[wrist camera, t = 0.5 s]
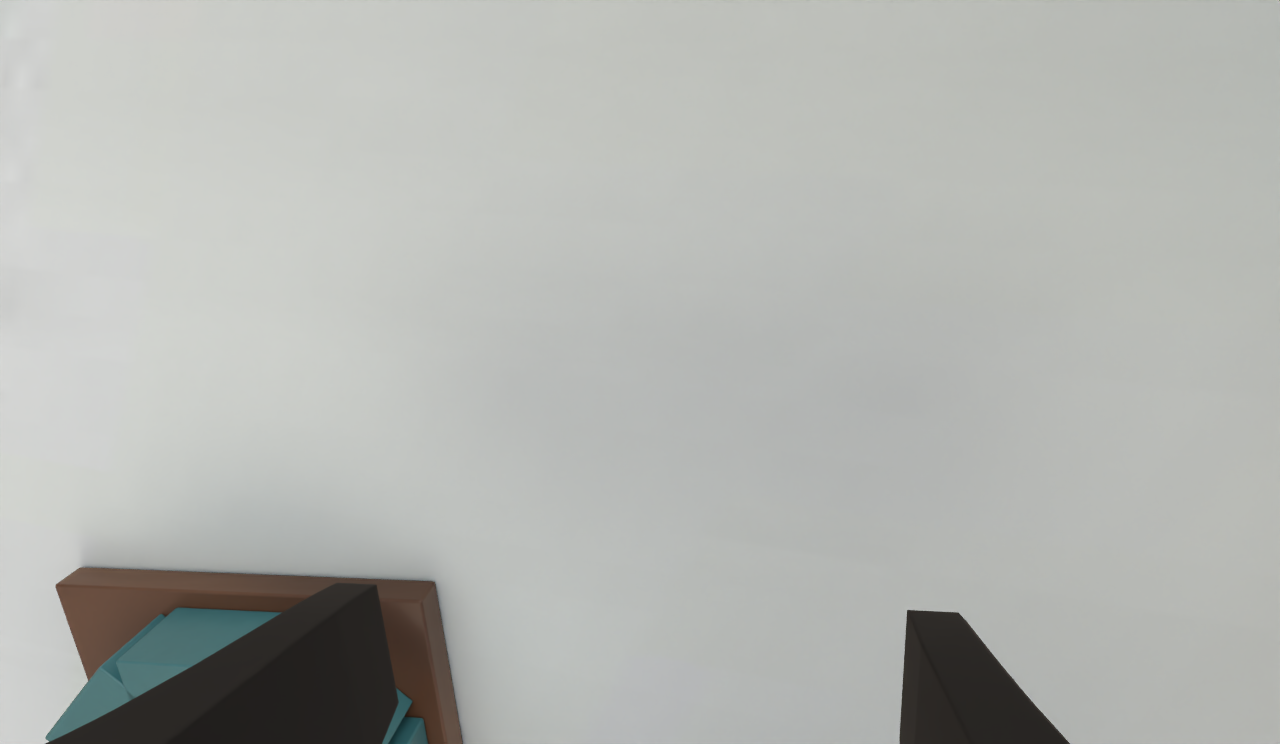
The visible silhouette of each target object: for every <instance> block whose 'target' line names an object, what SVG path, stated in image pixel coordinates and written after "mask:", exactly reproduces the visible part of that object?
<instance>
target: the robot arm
mask: <svg viewBox="0 0 1280 744" xmlns="http://www.w3.org/2000/svg"><path fill="white" fill-rule="evenodd" d="M398 703H399V701H398V696H397V690H396V685H395V680H394V674H393V669H392V664H391V658H390V653H389V648H388V642H387V637H386V632H385V626H384V621H383V616H382V611H381V605H380V600H379V595H378V589H377V584H356V583H335V584H333V585H331V586H329V587H327V588H325V589H323V590H321V591H319V592H317V593H315V594H314V595H312V596H310V597H308V598H306V599H305V600H303V601H301V602H299V603H298V604H296V605H294V606H292V607H291V608H289V609H287V610H286V611H284V612H282V613H281V614H279V615H277V616H276V617H274V618H272V619H271V620H269V621H267V622H266V623H264V624H262V625H261V626H259V627H257V628H256V629H254V630H252V631H251V632H249V633H247V634H245V635H244V636H242V637H240V638H239V639H237V640H235V641H234V642H232V643H230V644H229V645H227V646H225V647H224V648H222V649H220V650H219V651H217V652H215V653H214V654H212V655H210V656H209V657H207V658H205V659H204V660H202V661H200V662H198V663H197V664H195V665H193V666H192V667H190V668H188V669H186V670H184V671H183V672H181V673H179V674H177V675H175V676H174V677H172V678H170V679H168V680H166V681H165V682H163V683H161V684H159V685H157V686H156V687H154V688H152V689H150V690H148V691H147V692H145V693H143V694H141V695H139V696H138V697H136V698H134V699H132V700H130V701H129V702H127V703H125V704H123V705H121V706H120V707H118V708H116V709H114V710H112V711H110V712H108V713H106V714H105V715H103V716H101V717H99V718H97V719H95V720H93V721H91V722H89V723H87V724H85V725H83V726H81V727H79V728H77V729H75V730H73V731H71V732H69V733H67V734H65V735H63V736H61V737H58V738H56V739H54V740H52V741H50V742H48V743H46V744H382V743H383V740H384V738H385V735H386V733H387V731H388V728H389V726H390V723H391V721H392V718H393V716H394V713H395V711H396V708H397V706H398ZM900 744H1070V743H1069V742H1068V741H1067V740H1066V739H1065V738H1064V737H1063V735H1062V734H1061V733H1060V732H1059V731H1058V730H1057V729H1056V728H1055V727H1054V725H1053V724H1052V723H1051V722H1050V721H1049V720H1048V719H1047V718H1046V717H1045V716H1044V714H1043V713H1042V712H1041V711H1040V710H1039V709H1038V708H1037V707H1036V706H1035V704H1034V703H1033V702H1032V701H1031V700H1030V699H1029V697H1028V696H1027V695H1026V694H1025V693H1024V692H1023V690H1022V689H1021V688H1020V687H1019V686H1018V685H1017V683H1016V682H1015V681H1014V680H1013V679H1012V677H1011V676H1010V675H1009V674H1008V673H1007V671H1006V670H1005V669H1004V668H1003V667H1002V665H1001V664H1000V663H999V662H998V660H997V659H996V658H995V657H994V655H993V654H992V653H991V652H990V650H989V649H988V648H987V647H986V645H985V644H984V643H983V642H982V640H981V639H980V638H979V637H978V635H977V634H976V633H975V631H974V630H973V629H972V628H971V626H970V625H969V624H968V623H967V621H966V620H965V619H964V618H963V617H962V616H961V615H960V614H959V613H955V612H934V611H914V610H907V623H906V639H905V656H904V673H903V690H902V707H901V723H900Z"/></svg>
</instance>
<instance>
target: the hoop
mask: <svg viewBox="0 0 1280 744" xmlns="http://www.w3.org/2000/svg"><path fill="white" fill-rule="evenodd" d="M281 613H282V612H262V611H241V610H221V609H200V608H179V607H178V608H175V609H174V610H173V611H172V612H171V613H170V614H169V615H168V616H166V617H165V616H164V615H163V614H160V615H158V616H157V617H156V618H155V619H154V620H153V621H151V622H150V623H149V624H148V625H147V626H146V627H145V628H143V629H142V630H141V631H140V632H139V633H138V634H137V635H135V636H134V637H133V638H132V639H131V640H130V641H129V642H127V643H126V644H125V645H124V646H123V647H122V648H121V649H119V650H118V651H117V652H116V653H115V654H114V655H113V656H111V657H110V658H109V659H108V660H107V661H106V662H104V663H103V664H102V665H101V666H100V667H99V668H98V669H97V671H96V672H95V673H94V675H93V676H92V677H91V678H90V680H89V681H88V682H87V684H86V685H85V686H84V688H83V689H82V690H81V691H80V693H79V694H78V695H77V697H76V698H75V699H74V701H73V702H72V703H71V704H70V706H69V707H68V708H67V710H66V711H65V712H64V714H63V715H62V716H61V717H60V719H59V720H58V721H57V723H56V724H55V725H54V727H53V728H52V729H51V730H50V732H49V733H48V734H47V736H46V739H47V740H48V741H49V742H50V741H52V740H54V739H56V738H58V737H61V736H63V735H65V734H67V733H69V732H71V731H73V730H75V729H77V728H79V727H81V726H83V725H85V724H87V723H89V722H91V721H93V720H95V719H97V718H99V717H101V716H103V715H105V714H106V713H108V712H110V711H112V710H114V709H116V708H118V707H120V706H121V705H123V704H125V703H127V702H129V701H130V700H132V699H134V698H136V697H138V696H139V695H141V694H143V693H145V692H147V691H148V690H150V689H152V688H154V687H156V686H157V685H159V684H161V683H163V682H165V681H166V680H168V679H170V678H172V677H174V676H175V675H177V674H179V673H181V672H183V671H184V670H186V669H188V668H190V667H192V666H193V665H195V664H197V663H198V662H200V661H202V660H204V659H205V658H207V657H209V656H210V655H212V654H214V653H215V652H217V651H219V650H220V649H222V648H224V647H225V646H227V645H229V644H230V643H232V642H234V641H235V640H237V639H239V638H240V637H242V636H244V635H245V634H247V633H249V632H251V631H252V630H254V629H256V628H257V627H259V626H261V625H262V624H264V623H266V622H267V621H269V620H271V619H272V618H274V617H276V616H277V615H279V614H281ZM396 690H397V696H398V701H399V703H398V706H397V708H396V711H395V713H394V716H393V718H392V721H391V723H390V726H389V728H388V731H387V733H386V735H385V738H384V740H383V743H382V744H428V740H427V735H426V729H425V724H424V719H423V718H417V717H404V716H405V714H406V713H407V711H408V709H409V707H410V706H411V704H412V700H411V699H410V698H408V697H407V696H406V695H405V694H403V693H402V692H401V691H400V690H398V689H397V688H396Z"/></svg>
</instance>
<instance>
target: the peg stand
mask: <svg viewBox="0 0 1280 744" xmlns="http://www.w3.org/2000/svg"><path fill="white" fill-rule="evenodd" d="M335 583H356V584H377V589H378V595H379V600H380V605H381V611H382V616H383V621H384V626H385V632H386V637H387V642H388V648H389V653H390V658H391V664H392V669H393V674H394V680H395V685H396V688H397V689H398V690H400V691H401V692H402V693H403V694H405V695H406V696H407V697H408V698H410V699H411V700H412V704H411V706H410V707H409V709H408V711H407V713H406V714H405V716H404V717H417V718H423V719H424V724H425V729H426V735H427V740H428V744H463V743H462V737H461V732H460V726H459V720H458V714H457V708H456V702H455V697H454V691H453V685H452V679H451V673H450V667H449V662H448V656H447V650H446V644H445V638H444V633H443V627H442V621H441V615H440V609H439V603H438V598H437V592H436V586H435V582H433V581H410V580H384V579H359V578H334V577H309V576H284V575H259V574H234V573H209V572H184V571H159V570H134V569H109V568H84V567H82V568H79V569H77V570H76V571H74V572H73V573H72V574H70V575H69V576H67V577H66V578H64V579H63V580H62V581H60V582H59V583H57V584H56V590H57V593H58V595H59V598H60V601H61V604H62V607H63V610H64V613H65V615H66V618H67V621H68V624H69V627H70V630H71V633H72V635H73V638H74V641H75V644H76V647H77V650H78V653H79V655H80V658H81V661H82V664H83V667H84V670H85V673H86V675H87V678H88V681H89V680H90V678H91V677H92V676H93V675H94V673H95V672H96V671H97V669H98V668H99V667H100V666H101V665H102V664H103V663H104V662H106V661H107V660H108V659H109V658H110V657H111V656H113V655H114V654H115V653H116V652H117V651H118V650H119V649H121V648H122V647H123V646H124V645H125V644H126V643H127V642H129V641H130V640H131V639H132V638H133V637H134V636H135V635H137V634H138V633H139V632H140V631H141V630H142V629H143V628H145V627H146V626H147V625H148V624H149V623H150V622H151V621H153V620H154V619H155V618H156V617H157V616H158V615H160V614H163V615H164V616H165V617H166V616H168V615H169V614H170V613H171V612H172V611H173V610H174V609H175V608H178V607H179V608H200V609H221V610H241V611H262V612H284V611H286V610H287V609H289V608H291V607H292V606H294V605H296V604H298V603H299V602H301V601H303V600H305V599H306V598H308V597H310V596H312V595H314V594H315V593H317V592H319V591H321V590H323V589H325V588H327V587H329V586H331V585H333V584H335Z"/></svg>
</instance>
